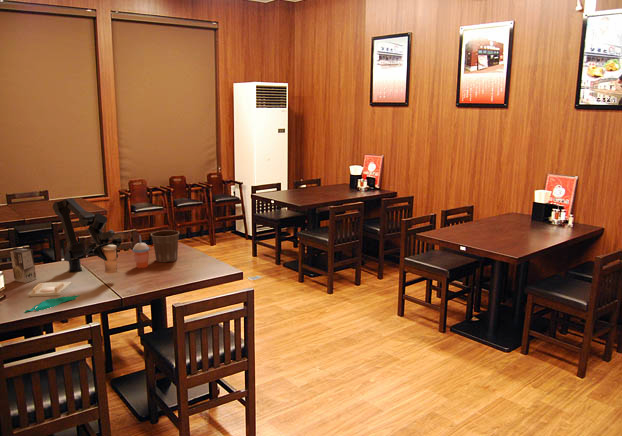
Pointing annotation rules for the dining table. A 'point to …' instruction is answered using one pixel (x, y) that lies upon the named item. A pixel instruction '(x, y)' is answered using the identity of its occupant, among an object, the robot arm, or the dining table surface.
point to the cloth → (52, 303)
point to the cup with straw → (141, 254)
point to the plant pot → (165, 245)
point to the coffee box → (23, 265)
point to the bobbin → (110, 259)
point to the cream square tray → (50, 288)
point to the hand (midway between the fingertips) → (111, 259)
